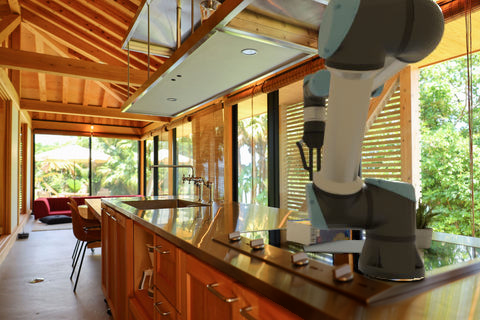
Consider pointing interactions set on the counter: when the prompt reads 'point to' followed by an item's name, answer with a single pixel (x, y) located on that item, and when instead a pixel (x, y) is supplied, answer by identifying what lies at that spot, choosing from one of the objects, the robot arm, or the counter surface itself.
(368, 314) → the counter surface
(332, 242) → the light grey flat slab
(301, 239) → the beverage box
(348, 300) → the counter surface
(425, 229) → the house plant
